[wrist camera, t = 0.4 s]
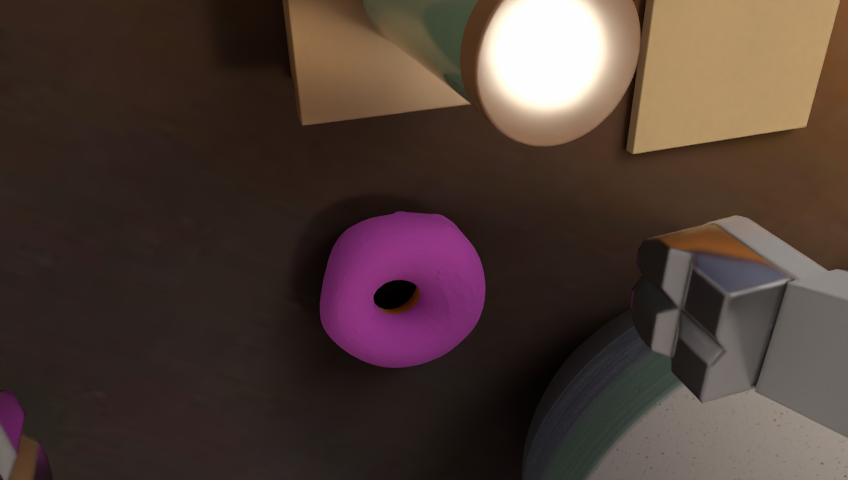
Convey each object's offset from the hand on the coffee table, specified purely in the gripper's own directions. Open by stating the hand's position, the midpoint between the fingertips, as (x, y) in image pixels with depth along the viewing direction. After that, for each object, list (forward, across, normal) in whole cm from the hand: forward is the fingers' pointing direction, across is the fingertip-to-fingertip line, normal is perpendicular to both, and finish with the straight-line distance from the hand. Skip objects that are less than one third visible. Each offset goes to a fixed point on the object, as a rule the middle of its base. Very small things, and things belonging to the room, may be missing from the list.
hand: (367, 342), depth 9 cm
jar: (+22, -8, +1) cm, 24 cm away
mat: (+28, -31, +5) cm, 42 cm away
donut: (+28, -7, +19) cm, 34 cm away
